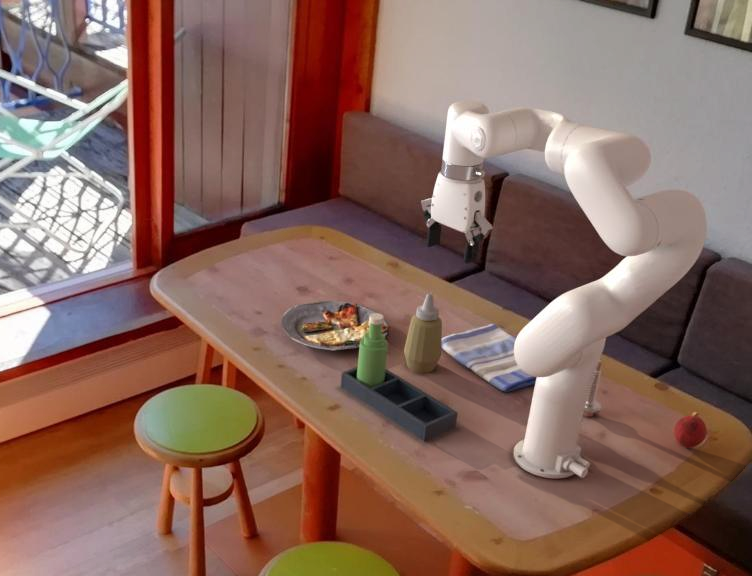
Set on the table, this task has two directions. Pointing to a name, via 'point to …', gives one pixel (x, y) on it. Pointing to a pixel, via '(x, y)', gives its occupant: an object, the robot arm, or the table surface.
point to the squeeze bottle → (424, 338)
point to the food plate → (329, 324)
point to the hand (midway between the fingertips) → (451, 253)
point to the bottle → (373, 354)
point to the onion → (690, 430)
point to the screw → (593, 393)
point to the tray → (403, 404)
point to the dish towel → (489, 356)
